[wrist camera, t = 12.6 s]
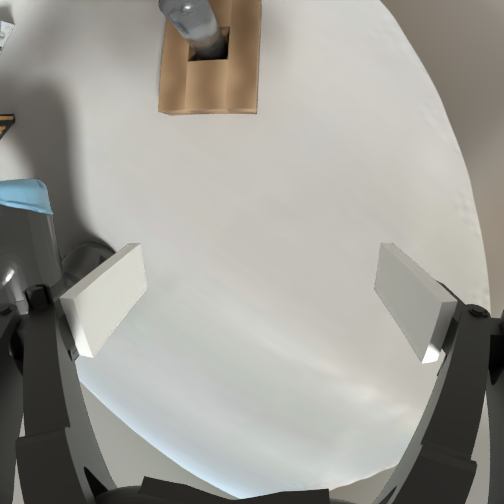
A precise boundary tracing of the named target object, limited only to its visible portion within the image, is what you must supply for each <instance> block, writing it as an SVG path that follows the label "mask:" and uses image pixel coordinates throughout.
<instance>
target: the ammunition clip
mask: <svg viewBox="0 0 504 504" xmlns="http://www.w3.org/2000/svg"><path fill="white" fill-rule="evenodd" d="M14 122H15V119H14V115H13V114H1V115H0V140H1V138H2V137H3V136H4V134H5V133H6V132H7V130H8V129H9V128H10V127H11V125H12V124H13V123H14Z"/></svg>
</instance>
